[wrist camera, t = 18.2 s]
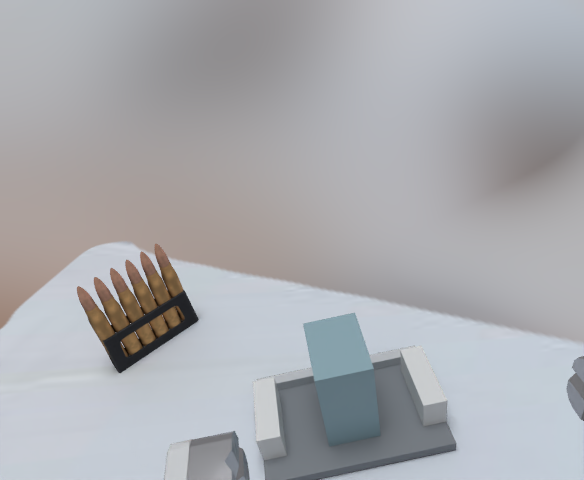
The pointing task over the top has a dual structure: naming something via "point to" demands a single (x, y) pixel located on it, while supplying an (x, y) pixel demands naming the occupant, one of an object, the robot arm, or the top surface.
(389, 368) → the mounting board
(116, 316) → the ammunition clip
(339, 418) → the block
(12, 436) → the top surface
